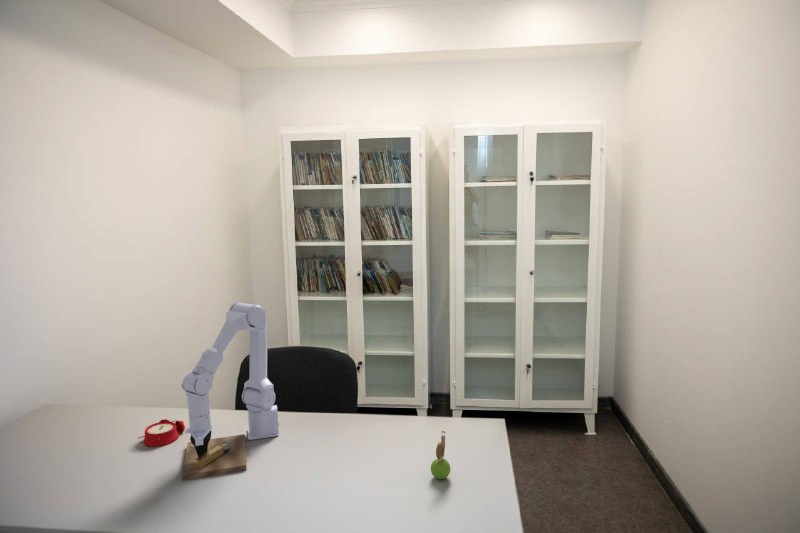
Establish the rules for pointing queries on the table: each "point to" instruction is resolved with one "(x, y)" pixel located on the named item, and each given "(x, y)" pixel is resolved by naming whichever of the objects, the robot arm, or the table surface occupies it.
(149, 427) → the alarm clock
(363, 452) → the table surface
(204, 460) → the tan wooden bar
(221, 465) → the plate
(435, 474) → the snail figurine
